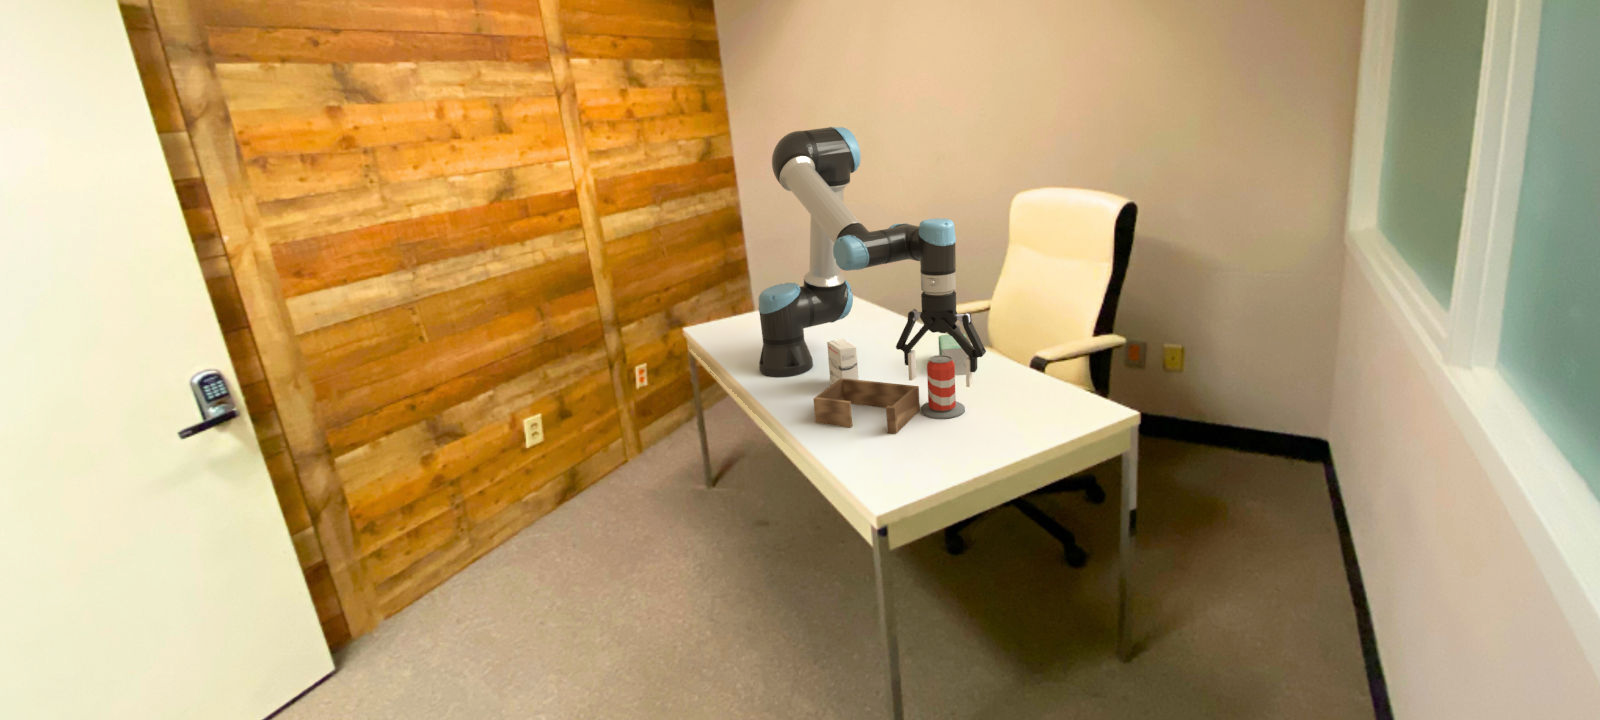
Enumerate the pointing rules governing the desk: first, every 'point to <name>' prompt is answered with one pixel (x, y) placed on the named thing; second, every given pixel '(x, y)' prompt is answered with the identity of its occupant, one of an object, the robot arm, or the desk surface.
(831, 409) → the wooden enclosure
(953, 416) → the coaster
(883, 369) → the desk surface
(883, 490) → the desk surface
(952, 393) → the beverage can
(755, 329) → the desk surface
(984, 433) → the desk surface
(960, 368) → the box
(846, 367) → the ink box
